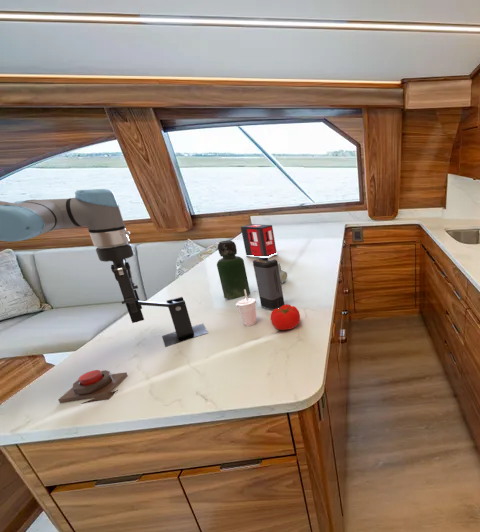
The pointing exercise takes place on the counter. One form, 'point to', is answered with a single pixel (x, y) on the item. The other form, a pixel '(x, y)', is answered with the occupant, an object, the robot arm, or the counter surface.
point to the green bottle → (232, 271)
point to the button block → (94, 388)
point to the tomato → (285, 317)
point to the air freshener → (282, 273)
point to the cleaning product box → (258, 240)
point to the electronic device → (268, 283)
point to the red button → (90, 377)
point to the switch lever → (155, 303)
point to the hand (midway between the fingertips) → (137, 315)
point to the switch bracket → (181, 324)
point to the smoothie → (247, 310)
